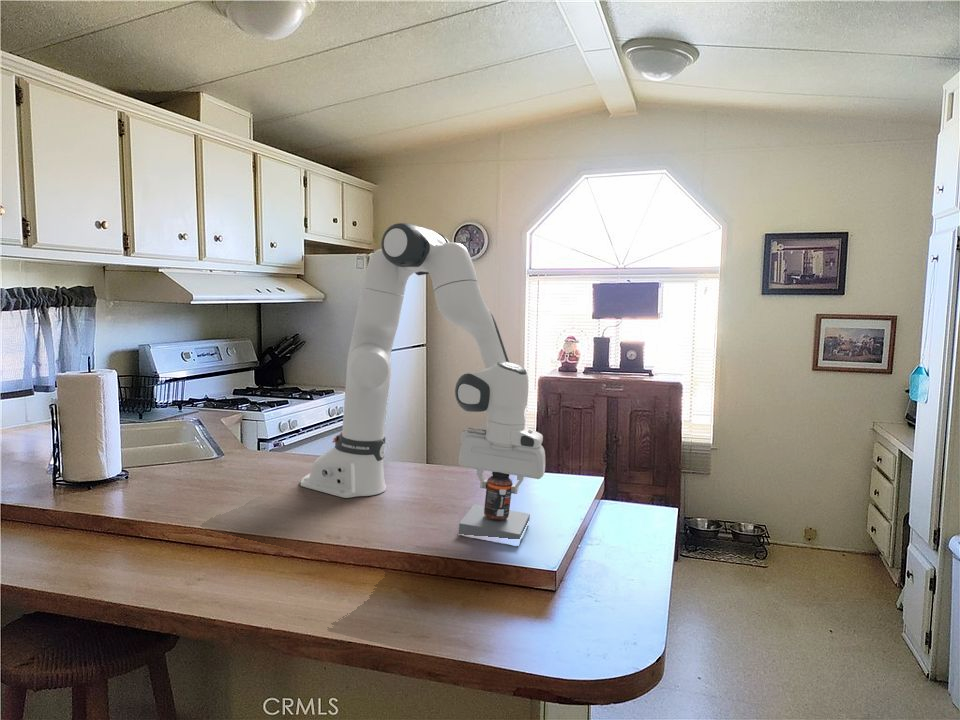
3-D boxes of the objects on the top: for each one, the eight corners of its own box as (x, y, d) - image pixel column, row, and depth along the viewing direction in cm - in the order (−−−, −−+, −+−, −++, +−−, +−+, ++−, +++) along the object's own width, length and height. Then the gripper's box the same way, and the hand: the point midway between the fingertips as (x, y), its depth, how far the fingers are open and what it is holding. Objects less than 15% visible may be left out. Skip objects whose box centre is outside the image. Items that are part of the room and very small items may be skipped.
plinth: (458, 535, 146) (459, 523, 145) (473, 515, 159) (474, 503, 159) (518, 547, 143) (519, 534, 142) (528, 525, 156) (530, 513, 156)
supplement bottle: (506, 522, 147) (512, 475, 146) (481, 518, 148) (486, 471, 147) (510, 513, 153) (515, 468, 152) (485, 509, 154) (490, 464, 153)
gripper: (458, 429, 147) (452, 486, 149) (545, 442, 143) (539, 501, 145) (465, 423, 154) (459, 479, 155) (549, 436, 149) (543, 493, 151)
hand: (498, 490), depth 150 cm, fingers closed on supplement bottle, 6 cm apart
